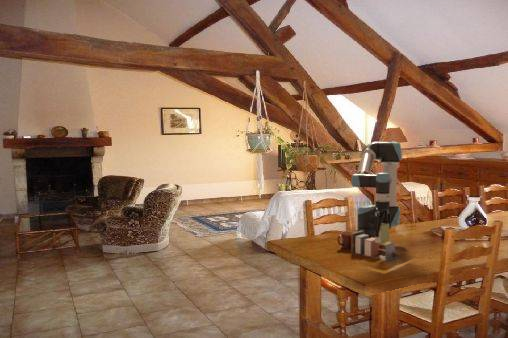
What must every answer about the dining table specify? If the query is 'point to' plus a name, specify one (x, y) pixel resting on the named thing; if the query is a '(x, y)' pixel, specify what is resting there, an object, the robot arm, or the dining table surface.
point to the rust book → (371, 247)
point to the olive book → (384, 233)
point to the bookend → (390, 252)
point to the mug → (345, 240)
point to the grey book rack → (379, 256)
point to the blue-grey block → (360, 243)
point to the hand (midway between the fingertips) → (382, 241)
